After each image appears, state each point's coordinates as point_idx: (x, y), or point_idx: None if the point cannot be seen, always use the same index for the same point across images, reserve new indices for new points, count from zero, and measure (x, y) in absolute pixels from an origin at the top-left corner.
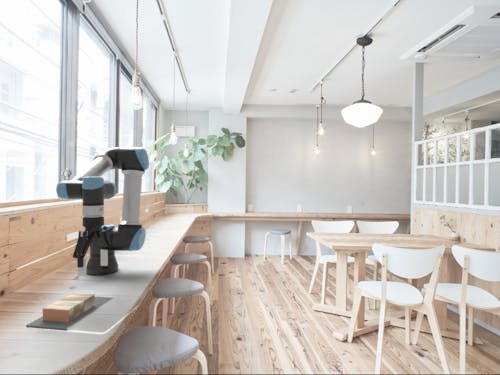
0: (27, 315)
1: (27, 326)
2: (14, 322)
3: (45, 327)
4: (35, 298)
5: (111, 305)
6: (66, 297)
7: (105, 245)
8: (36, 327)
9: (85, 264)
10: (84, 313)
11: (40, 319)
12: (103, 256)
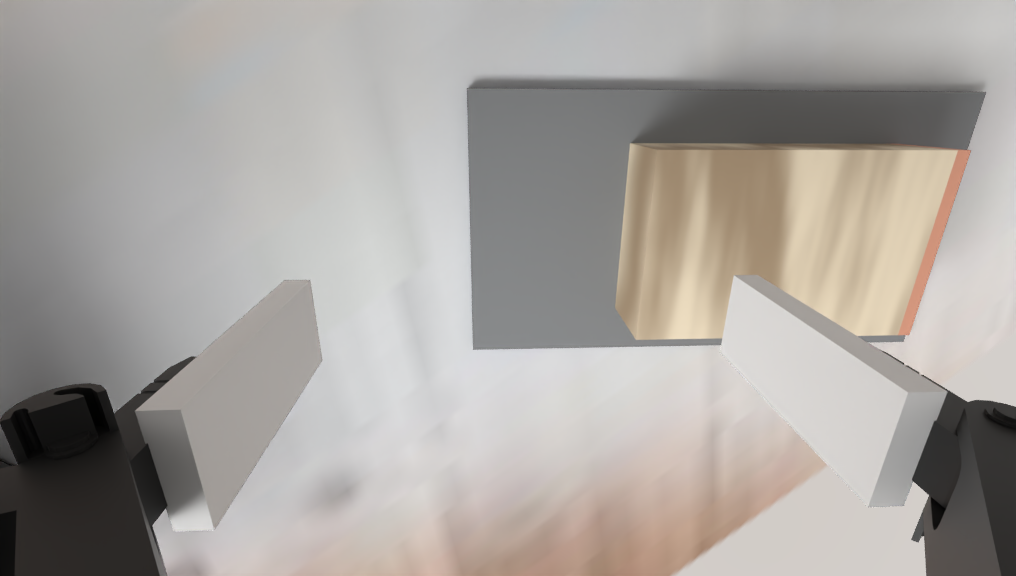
0: (753, 431)
1: None
2: None
3: None
4: (537, 549)
5: (586, 26)
6: (719, 324)
7: (130, 510)
8: None
9: (834, 334)
10: (767, 124)
11: None
12: (262, 392)
